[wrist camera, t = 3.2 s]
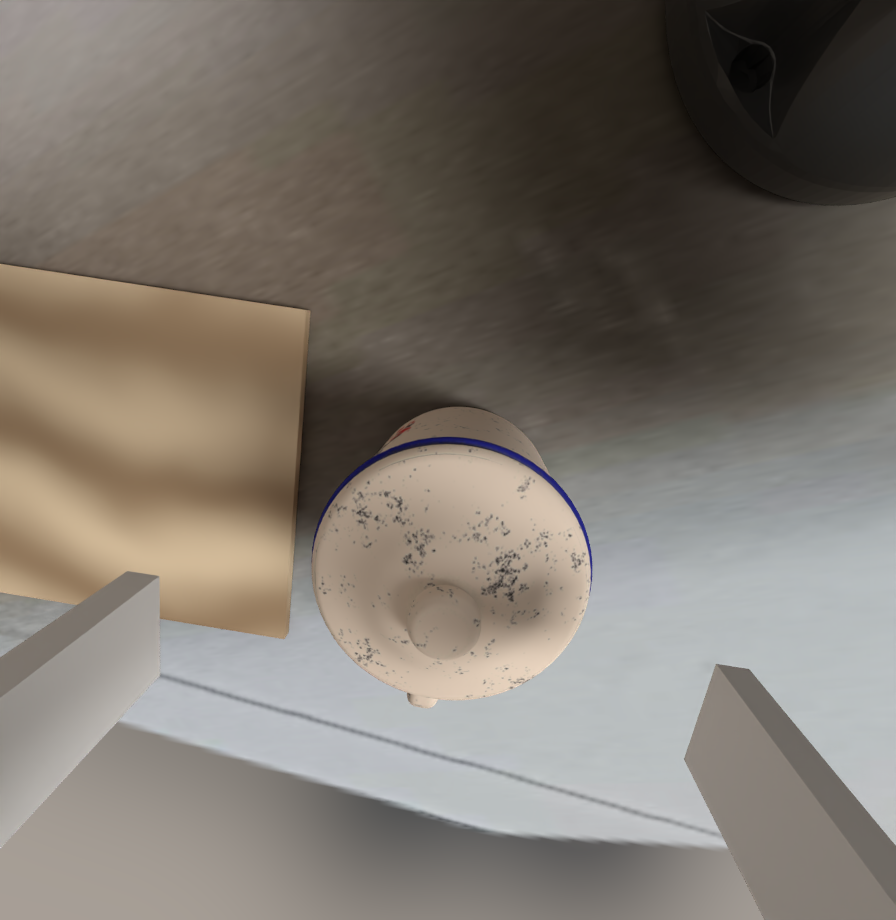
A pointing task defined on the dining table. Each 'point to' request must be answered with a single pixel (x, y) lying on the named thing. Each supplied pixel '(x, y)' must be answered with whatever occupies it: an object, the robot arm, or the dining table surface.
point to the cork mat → (150, 445)
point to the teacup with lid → (452, 560)
